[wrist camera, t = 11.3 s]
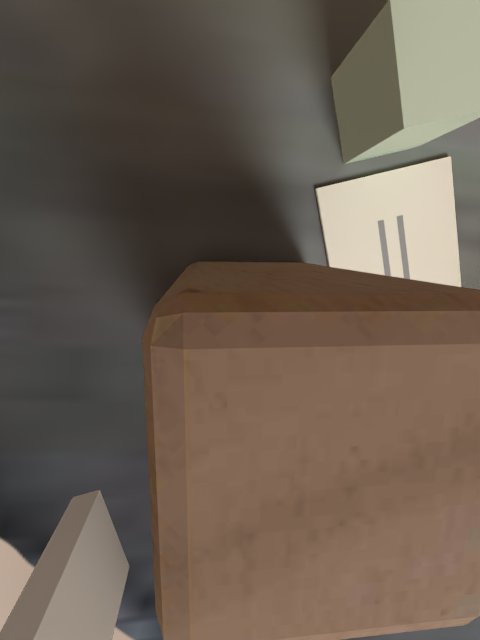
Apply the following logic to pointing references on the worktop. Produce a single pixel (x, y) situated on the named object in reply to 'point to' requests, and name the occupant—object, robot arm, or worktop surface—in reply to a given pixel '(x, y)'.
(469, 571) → the wooden block
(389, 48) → the sage block
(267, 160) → the worktop surface
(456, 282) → the letter
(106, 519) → the robot arm
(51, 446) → the worktop surface
